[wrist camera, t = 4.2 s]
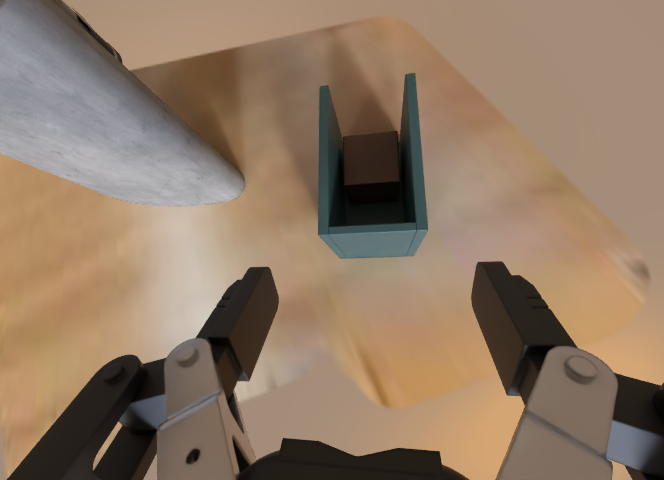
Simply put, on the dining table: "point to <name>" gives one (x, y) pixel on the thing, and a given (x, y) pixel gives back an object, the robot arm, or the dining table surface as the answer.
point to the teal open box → (372, 218)
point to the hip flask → (97, 117)
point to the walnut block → (371, 167)
